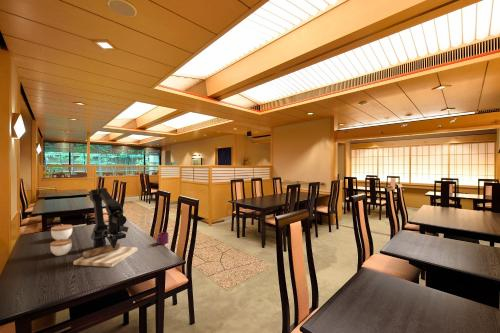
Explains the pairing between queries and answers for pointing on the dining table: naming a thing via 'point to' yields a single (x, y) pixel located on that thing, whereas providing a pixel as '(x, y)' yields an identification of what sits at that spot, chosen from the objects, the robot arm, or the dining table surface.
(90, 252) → the stool leg
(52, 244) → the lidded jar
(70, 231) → the lidded bowl
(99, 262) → the stool board
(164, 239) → the mug
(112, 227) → the robot arm
